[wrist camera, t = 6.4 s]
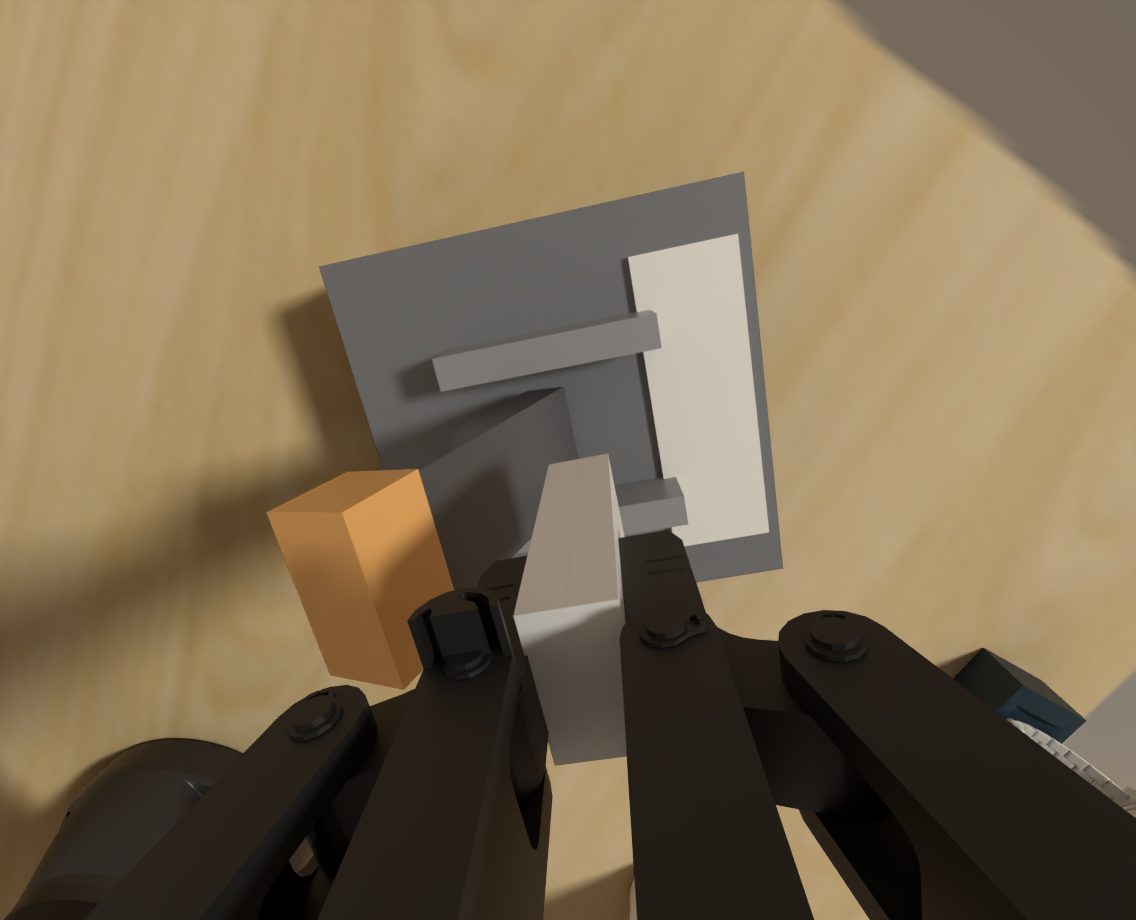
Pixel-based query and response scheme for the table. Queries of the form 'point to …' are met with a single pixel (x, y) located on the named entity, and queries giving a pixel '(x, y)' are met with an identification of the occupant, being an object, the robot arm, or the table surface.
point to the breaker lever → (418, 531)
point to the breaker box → (589, 354)
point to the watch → (1036, 715)
